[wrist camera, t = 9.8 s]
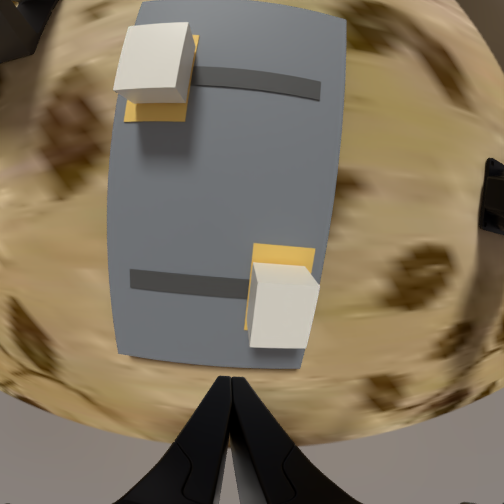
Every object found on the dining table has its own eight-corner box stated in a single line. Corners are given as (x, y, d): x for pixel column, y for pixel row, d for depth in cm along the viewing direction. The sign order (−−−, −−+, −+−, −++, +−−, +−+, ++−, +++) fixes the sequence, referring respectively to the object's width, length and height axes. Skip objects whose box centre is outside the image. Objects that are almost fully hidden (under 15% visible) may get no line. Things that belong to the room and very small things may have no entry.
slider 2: (304, 266, 16) (320, 286, 13) (294, 320, 17) (306, 348, 14) (252, 262, 16) (257, 282, 13) (246, 318, 17) (249, 347, 14)
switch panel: (338, 28, 14) (346, 19, 12) (296, 356, 20) (300, 369, 18) (147, 12, 12) (141, 1, 11) (124, 342, 19) (117, 354, 17)
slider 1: (195, 46, 12) (188, 22, 9) (186, 103, 13) (175, 87, 10) (144, 48, 12) (128, 26, 9) (133, 103, 13) (113, 90, 10)
